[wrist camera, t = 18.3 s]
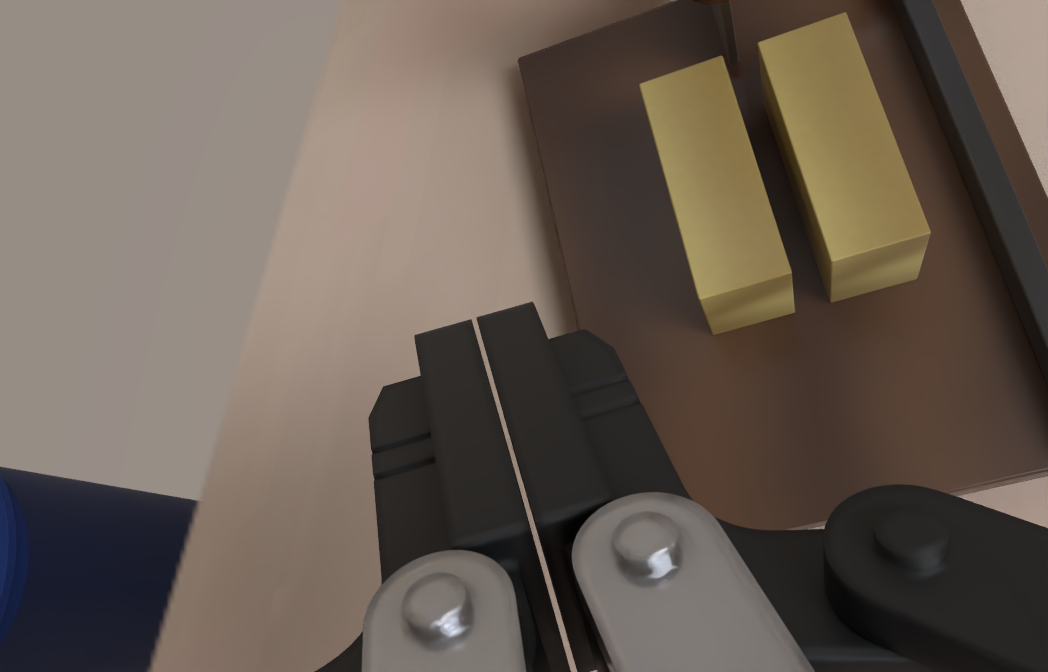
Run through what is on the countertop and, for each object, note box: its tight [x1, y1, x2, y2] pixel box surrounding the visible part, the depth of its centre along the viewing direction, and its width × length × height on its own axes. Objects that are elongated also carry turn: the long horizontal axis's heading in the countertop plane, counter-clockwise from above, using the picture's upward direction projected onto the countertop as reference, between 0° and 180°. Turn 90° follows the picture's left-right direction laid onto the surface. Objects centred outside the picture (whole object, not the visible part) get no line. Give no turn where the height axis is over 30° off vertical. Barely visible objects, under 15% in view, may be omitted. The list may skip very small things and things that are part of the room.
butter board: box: [518, 0, 1048, 530], centre depth 27 cm, size 14×18×5 cm
